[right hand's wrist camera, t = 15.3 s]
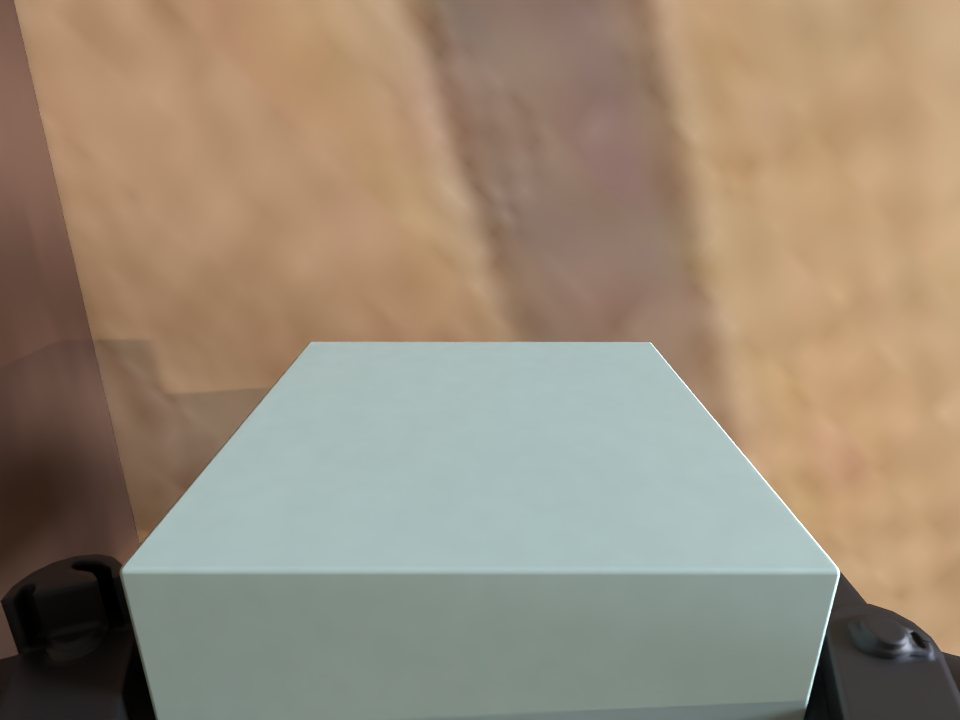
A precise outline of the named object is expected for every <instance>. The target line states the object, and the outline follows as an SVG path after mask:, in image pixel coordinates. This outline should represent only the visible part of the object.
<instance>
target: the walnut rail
mask: <svg viewBox="0 0 960 720" xmlns="http://www.w3.org/2000/svg"><path fill="white" fill-rule="evenodd" d="M138 547H139V541H138V537H137V532H136V528H135V524H134V519H133V515H132V511H131V506H130V502H129V498H128V493H127V489H126V485H125V480H124V476H123V472H122V467H121V463H120V459H119V454H118V450H117V446H116V441H115V437H114V433H113V428H112V424H111V420H110V415H109V411H108V407H107V402H106V398H105V394H104V389H103V385H102V381H101V376H100V372H99V368H98V363H97V359H96V355H95V350H94V346H93V342H92V337H91V333H90V329H89V324H88V320H87V316H86V311H85V307H84V303H83V298H82V294H81V290H80V285H79V281H78V277H77V272H76V268H75V264H74V259H73V255H72V251H71V246H70V242H69V238H68V233H67V229H66V225H65V220H64V216H63V212H62V207H61V203H60V199H59V194H58V190H57V186H56V181H55V177H54V173H53V168H52V164H51V160H50V156H49V151H48V147H47V143H46V138H45V134H44V130H43V125H42V121H41V117H40V112H39V108H38V104H37V99H36V95H35V91H34V86H33V82H32V78H31V73H30V69H29V65H28V60H27V56H26V52H25V47H24V43H23V39H22V34H21V30H20V26H19V21H18V17H17V13H16V8H15V4H14V0H0V659H3V658H8V657H11V656H15V655H18V651H17V648H16V645H15V642H14V639H13V636H12V633H11V630H10V627H9V625H8V622H7V619H6V616H5V613H4V610H3V607H2V604H1V600H2V599H3V597H4V596H5V595H6V594H7V592H8V591H9V590H10V589H11V588H12V586H14V585H15V584H16V583H18V582H19V581H21V580H22V579H23V578H25V577H26V576H28V575H29V574H30V573H32V572H34V571H36V570H38V569H41V568H43V567H45V566H47V565H49V564H51V563H53V562H57V561H60V560H64V559H67V558H71V557H74V556H80V555H91V554H100V555H106V556H111V557H114V558H115V559H116V560H117V561H119V562H120V563H121V564H122V566H123V565H124V563H125V562H126V561H127V560H128V559H129V557H130V556H131V555H132V554H133V553H134V551H135V550H136V549H137V548H138Z"/></svg>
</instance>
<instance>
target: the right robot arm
mask: <svg viewBox="0 0 960 720" xmlns="http://www.w3.org/2000/svg"><path fill="white" fill-rule="evenodd" d="M121 567H122V564H121V563H120V562H119V561H117V560H116V559H115V558H114V557H111V556H106V555H100V554H91V555H80V556H74V557H71V558H67V559H64V560H60V561H57V562H53V563H51V564H49V565H47V566H45V567H43V568H41V569H38V570H36V571H34V572H32V573H30V574H29V575H28V576H26V577H25V578H23V579H22V580H21V581H19V582H18V583H16V584H15V585H14V586H12V588H11V589H10V590H9V591H8V592H7V594H6V595H5V596H4V597H3V599H2V600H1V604H2V607H3V610H4V613H5V616H6V619H7V622H8V625H9V627H10V630H11V633H12V636H13V639H14V642H15V645H16V648H17V651H18V655H15V656H11V657H8V658H3V659H0V720H156V718H155V714H154V710H153V706H152V702H151V698H150V694H149V690H148V686H147V682H146V678H145V674H144V670H143V666H142V662H141V658H140V654H139V650H138V646H137V642H136V638H135V634H134V630H133V626H132V622H131V618H130V614H129V610H128V606H127V602H126V598H125V594H124V590H123V586H122V582H121V578H120V569H121ZM804 720H960V657H959V656H955V655H951V654H948V653H944V652H941V651H940V649H939V648H938V646H937V645H936V643H935V642H934V641H933V639H932V638H931V637H930V636H929V635H928V634H927V633H925V632H924V631H923V630H922V629H921V628H919V627H918V626H917V625H916V624H915V623H913V622H911V621H909V620H908V619H906V618H904V617H902V616H900V615H898V614H896V613H895V612H893V611H890V610H887V609H884V608H881V607H878V606H874V605H871V604H867V603H866V602H865V601H864V599H863V598H862V597H861V596H860V595H859V593H858V592H857V591H856V590H855V589H854V587H853V586H852V585H851V584H850V583H849V581H848V580H847V579H846V578H845V577H844V575H843V574H842V573H841V572H840V577H839V581H838V585H837V589H836V593H835V597H834V601H833V605H832V609H831V613H830V617H829V620H828V624H827V628H826V632H825V636H824V640H823V644H822V648H821V652H820V656H819V660H818V664H817V668H816V672H815V676H814V680H813V684H812V688H811V692H810V696H809V700H808V704H807V708H806V712H805V716H804Z"/></svg>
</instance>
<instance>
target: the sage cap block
mask: <svg viewBox="0 0 960 720" xmlns="http://www.w3.org/2000/svg"><path fill="white" fill-rule="evenodd" d="M839 577H840V571H839V568H838V567H837V566H836V565H835V564H834V562H833V561H832V560H831V559H830V558H829V556H828V555H827V554H826V553H825V552H824V550H823V549H822V548H821V547H820V546H819V544H818V543H817V542H816V541H815V539H814V538H813V537H812V536H811V535H810V533H809V532H808V531H807V530H806V529H805V527H804V526H803V525H802V524H801V523H800V521H799V520H798V519H797V518H796V517H795V515H794V514H793V513H792V512H791V511H790V509H789V508H788V507H787V506H786V505H785V503H784V502H783V501H782V500H781V499H780V497H779V496H778V495H777V494H776V493H775V491H774V490H773V489H772V488H771V487H770V485H769V484H768V483H767V482H766V481H765V479H764V478H763V477H762V476H761V475H760V473H759V472H758V471H757V470H756V469H755V467H754V466H753V465H752V464H751V463H750V461H749V460H748V459H747V458H746V457H745V455H744V454H743V453H742V452H741V451H740V449H739V448H738V447H737V446H736V445H735V443H734V442H733V441H732V440H731V439H730V437H729V436H728V435H727V434H726V433H725V431H724V430H723V429H722V428H721V427H720V425H719V424H718V423H717V422H716V420H715V419H714V418H713V417H712V416H711V414H710V413H709V412H708V411H707V410H706V408H705V407H704V406H703V405H702V404H701V402H700V401H699V400H698V399H697V398H696V396H695V395H694V394H693V393H692V392H691V390H690V389H689V388H688V387H687V386H686V384H685V383H684V382H683V381H682V380H681V378H680V377H679V376H678V375H677V374H676V372H675V371H674V370H673V369H672V368H671V366H670V365H669V364H668V363H667V362H666V360H665V359H664V358H663V357H662V356H661V354H660V353H659V352H658V351H657V350H656V348H655V347H654V346H653V345H652V344H651V343H650V342H310V343H309V344H308V345H307V346H306V347H305V349H304V350H303V351H302V352H301V353H300V355H299V356H298V357H297V358H296V359H295V361H294V362H293V363H292V364H291V365H290V366H289V368H288V369H287V370H286V371H285V372H284V374H283V375H282V376H281V377H280V378H279V380H278V381H277V382H276V383H275V384H274V386H273V387H272V388H271V389H270V390H269V392H268V393H267V394H266V395H265V396H264V397H263V399H262V400H261V401H260V402H259V403H258V405H257V406H256V407H255V408H254V409H253V411H252V412H251V413H250V414H249V415H248V417H247V418H246V419H245V420H244V421H243V423H242V424H241V425H240V426H239V427H238V429H237V430H236V431H235V432H234V433H233V434H232V436H231V437H230V438H229V439H228V440H227V442H226V443H225V444H224V445H223V446H222V448H221V449H220V450H219V451H218V452H217V454H216V455H215V456H214V457H213V458H212V460H211V461H210V462H209V463H208V464H207V466H206V467H205V468H204V469H203V470H202V471H201V473H200V474H199V475H198V476H197V477H196V479H195V480H194V481H193V482H192V483H191V485H190V486H189V487H188V488H187V489H186V491H185V492H184V493H183V494H182V495H181V497H180V498H179V499H178V500H177V501H176V503H175V504H174V505H173V506H172V507H171V508H170V510H169V511H168V512H167V513H166V514H165V516H164V517H163V518H162V519H161V520H160V522H159V523H158V524H157V525H156V526H155V528H154V529H153V530H152V531H151V532H150V534H149V535H148V536H147V537H146V538H145V539H144V541H143V542H142V543H141V544H140V545H139V547H138V548H137V549H136V550H135V551H134V553H133V554H132V555H131V556H130V557H129V559H128V560H127V561H126V562H125V563H124V565H123V566H122V567H121V569H120V578H121V582H122V586H123V590H124V594H125V598H126V602H127V606H128V610H129V614H130V618H131V622H132V626H133V630H134V634H135V638H136V642H137V646H138V650H139V654H140V658H141V662H142V666H143V670H144V674H145V678H146V682H147V686H148V690H149V694H150V698H151V702H152V706H153V710H154V714H155V718H156V720H804V716H805V712H806V708H807V704H808V700H809V696H810V692H811V688H812V684H813V680H814V676H815V672H816V668H817V664H818V660H819V656H820V652H821V648H822V644H823V640H824V636H825V632H826V628H827V624H828V620H829V617H830V613H831V609H832V605H833V601H834V597H835V593H836V589H837V585H838V581H839Z"/></svg>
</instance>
